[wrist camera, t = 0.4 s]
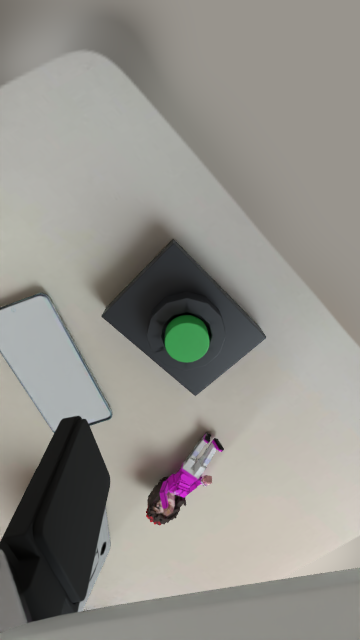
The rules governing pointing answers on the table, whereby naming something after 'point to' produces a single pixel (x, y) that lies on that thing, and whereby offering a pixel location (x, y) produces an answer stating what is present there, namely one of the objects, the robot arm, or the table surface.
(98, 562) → the electrical switch
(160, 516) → the character figurine
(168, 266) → the housing
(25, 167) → the table surface
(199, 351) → the button
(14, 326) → the smartphone
